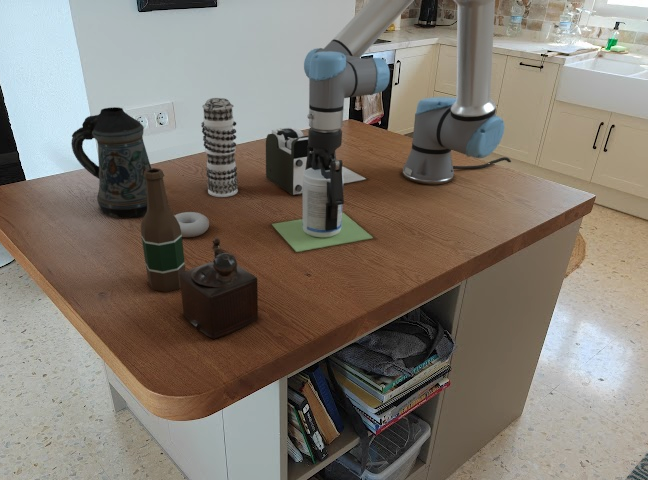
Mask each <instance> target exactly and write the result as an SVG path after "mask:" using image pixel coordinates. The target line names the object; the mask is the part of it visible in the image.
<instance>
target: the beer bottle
mask: <svg viewBox="0 0 648 480" xmlns="http://www.w3.org/2000/svg"><path fill="white" fill-rule="evenodd" d="M151 168H152V169H147V170H146V171H144V175H143V176H144V177H145V179H146V192H147V212H146V214H145V216H143V218H142V220H141V224H140V235H141V236H140V237H141V242H142V249H143V250H142V251H143V254H144V263H145V269H146V276H147V279H148V283H149V285H150V287H151V288H152V290H154V291H158V292H163V293H168V292H172V291H176V290H181V285H180V273H181V272H184V271H187V270H186V260H185V252H184V241H183V237H182V233H181V228H180V225H179V223H178V221H177V219H176V217H175V216H174V215H175V214H174V213H173V212H172V211H171V210H170V209H171V208H170V206H169V203H168V198H167V197H168V196H167V193H166V186H165V182H164V177H165V173H164V171H163V170H162V169H161V168H157V167H151Z"/></svg>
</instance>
